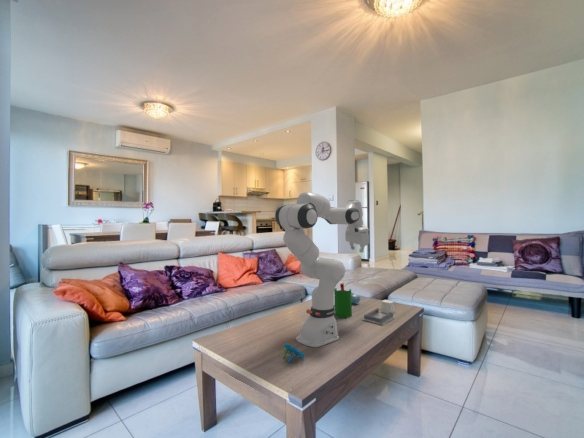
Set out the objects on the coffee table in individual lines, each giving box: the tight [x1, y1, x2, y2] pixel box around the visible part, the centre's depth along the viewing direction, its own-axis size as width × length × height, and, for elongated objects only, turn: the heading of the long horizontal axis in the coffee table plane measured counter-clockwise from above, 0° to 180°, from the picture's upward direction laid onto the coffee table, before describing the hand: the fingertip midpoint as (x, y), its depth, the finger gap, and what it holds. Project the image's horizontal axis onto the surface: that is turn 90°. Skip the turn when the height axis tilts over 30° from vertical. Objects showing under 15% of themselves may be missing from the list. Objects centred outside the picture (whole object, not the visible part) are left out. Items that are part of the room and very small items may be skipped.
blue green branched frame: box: [282, 343, 306, 364], centre depth 116 cm, size 11×6×10 cm
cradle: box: [361, 308, 396, 326], centre depth 160 cm, size 15×13×3 cm
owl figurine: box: [334, 291, 362, 307], centre depth 193 cm, size 28×9×15 cm
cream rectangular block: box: [380, 299, 395, 314], centre depth 171 cm, size 5×6×7 cm
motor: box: [334, 282, 353, 319], centre depth 168 cm, size 10×9×20 cm
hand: (357, 250), depth 163 cm, fingers open, 8 cm apart
